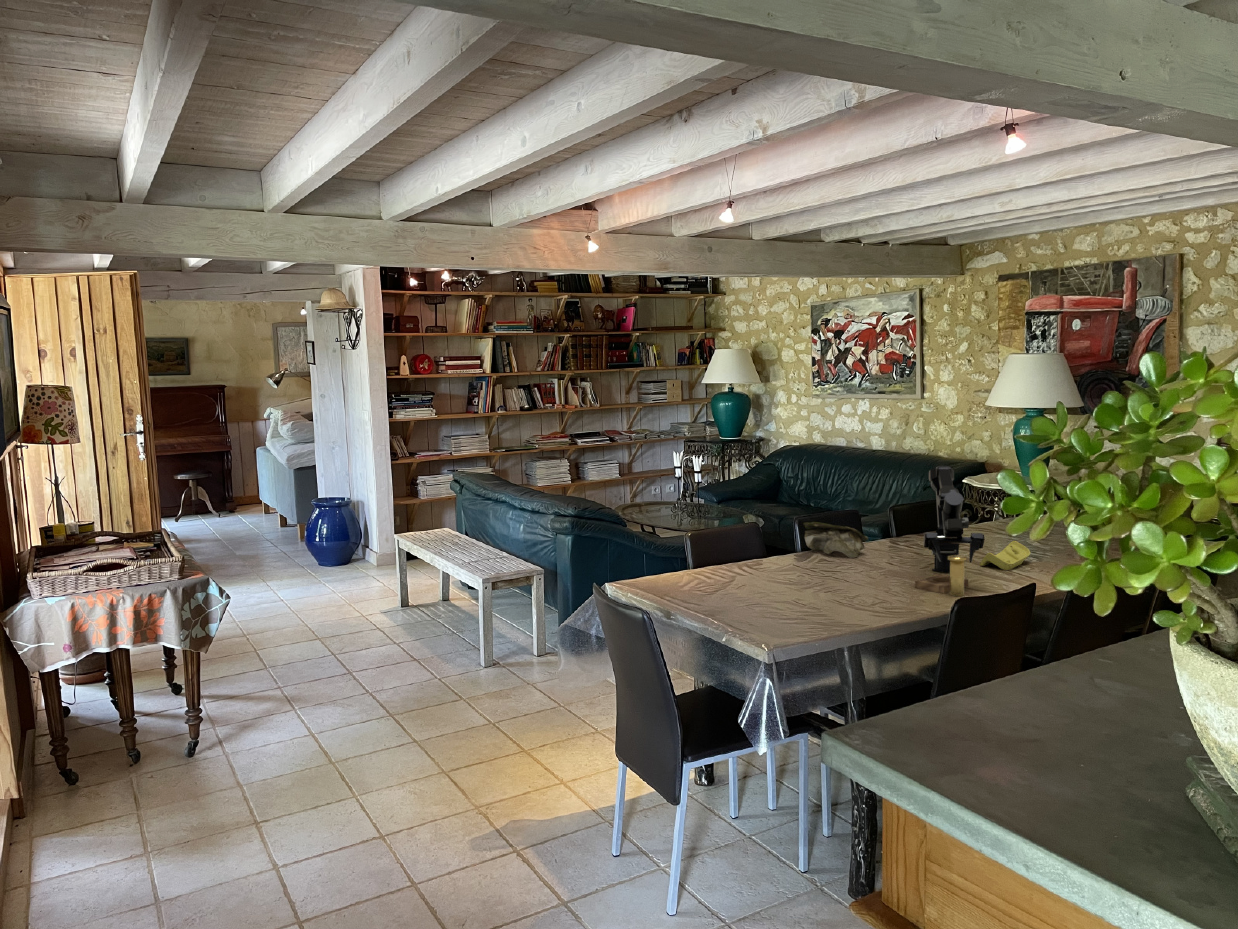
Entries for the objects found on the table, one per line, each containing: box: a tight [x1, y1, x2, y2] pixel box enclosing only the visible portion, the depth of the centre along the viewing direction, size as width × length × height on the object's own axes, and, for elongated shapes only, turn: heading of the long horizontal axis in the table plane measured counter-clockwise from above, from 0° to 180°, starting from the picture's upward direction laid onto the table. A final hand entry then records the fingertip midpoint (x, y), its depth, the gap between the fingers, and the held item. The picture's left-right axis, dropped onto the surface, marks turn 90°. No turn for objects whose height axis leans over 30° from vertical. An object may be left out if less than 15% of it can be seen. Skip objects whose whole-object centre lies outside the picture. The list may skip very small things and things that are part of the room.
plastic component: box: [979, 540, 1031, 571], centre depth 332 cm, size 20×7×10 cm
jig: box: [914, 573, 969, 594], centre depth 302 cm, size 11×14×2 cm
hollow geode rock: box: [803, 521, 869, 559], centre depth 360 cm, size 28×13×15 cm
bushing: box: [948, 554, 968, 597], centre depth 292 cm, size 6×6×12 cm
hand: (955, 561), depth 294 cm, fingers open, 9 cm apart
